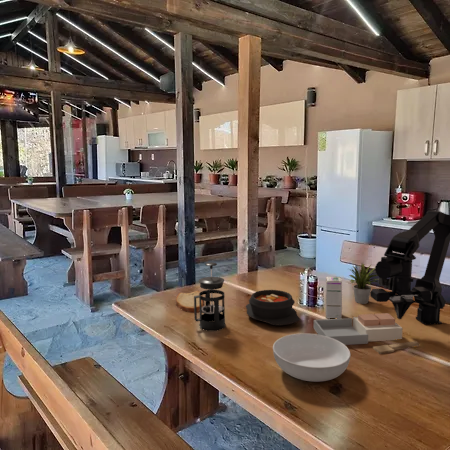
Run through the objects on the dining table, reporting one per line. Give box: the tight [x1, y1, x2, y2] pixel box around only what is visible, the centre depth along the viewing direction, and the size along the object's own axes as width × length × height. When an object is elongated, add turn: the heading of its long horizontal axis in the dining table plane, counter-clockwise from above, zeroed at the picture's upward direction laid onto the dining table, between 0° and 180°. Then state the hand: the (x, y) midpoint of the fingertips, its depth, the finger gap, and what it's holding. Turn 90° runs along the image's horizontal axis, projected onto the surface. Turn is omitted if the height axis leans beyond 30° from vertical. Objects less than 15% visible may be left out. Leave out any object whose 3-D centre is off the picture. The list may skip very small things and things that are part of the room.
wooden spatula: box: [372, 340, 420, 355], centre depth 128 cm, size 15×4×1 cm, turn 105°
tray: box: [313, 317, 369, 346], centre depth 138 cm, size 14×14×3 cm
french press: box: [193, 262, 227, 332], centre depth 146 cm, size 12×9×23 cm
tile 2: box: [373, 312, 396, 325], centre depth 139 cm, size 5×5×2 cm
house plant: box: [348, 263, 379, 305], centre depth 168 cm, size 14×14×16 cm
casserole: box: [245, 289, 301, 326], centre depth 155 cm, size 25×19×8 cm
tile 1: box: [357, 313, 379, 326], centre depth 138 cm, size 5×5×2 cm
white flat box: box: [352, 316, 403, 342], centre depth 139 cm, size 12×11×4 cm
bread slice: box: [175, 290, 205, 313], centre depth 172 cm, size 18×18×4 cm
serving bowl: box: [272, 333, 352, 383], centre depth 115 cm, size 21×21×7 cm
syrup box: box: [325, 276, 343, 319], centre depth 154 cm, size 6×6×14 cm
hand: (399, 318), depth 139 cm, fingers closed
